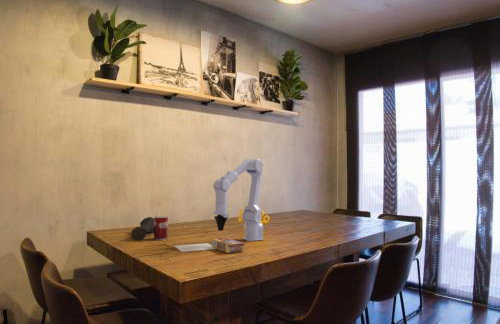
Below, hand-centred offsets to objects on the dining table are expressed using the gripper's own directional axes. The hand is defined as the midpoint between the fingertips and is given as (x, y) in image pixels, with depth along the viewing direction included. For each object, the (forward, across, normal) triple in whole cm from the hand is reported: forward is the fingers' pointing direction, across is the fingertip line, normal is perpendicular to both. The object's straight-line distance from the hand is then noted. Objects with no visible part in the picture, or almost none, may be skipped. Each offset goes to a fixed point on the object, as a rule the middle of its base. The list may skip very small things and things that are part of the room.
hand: (220, 230), depth 169 cm
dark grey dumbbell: (+8, -41, -29) cm, 51 cm away
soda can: (+8, -28, -23) cm, 37 cm away
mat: (+7, 0, -13) cm, 15 cm away
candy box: (+5, +2, -1) cm, 6 cm away
